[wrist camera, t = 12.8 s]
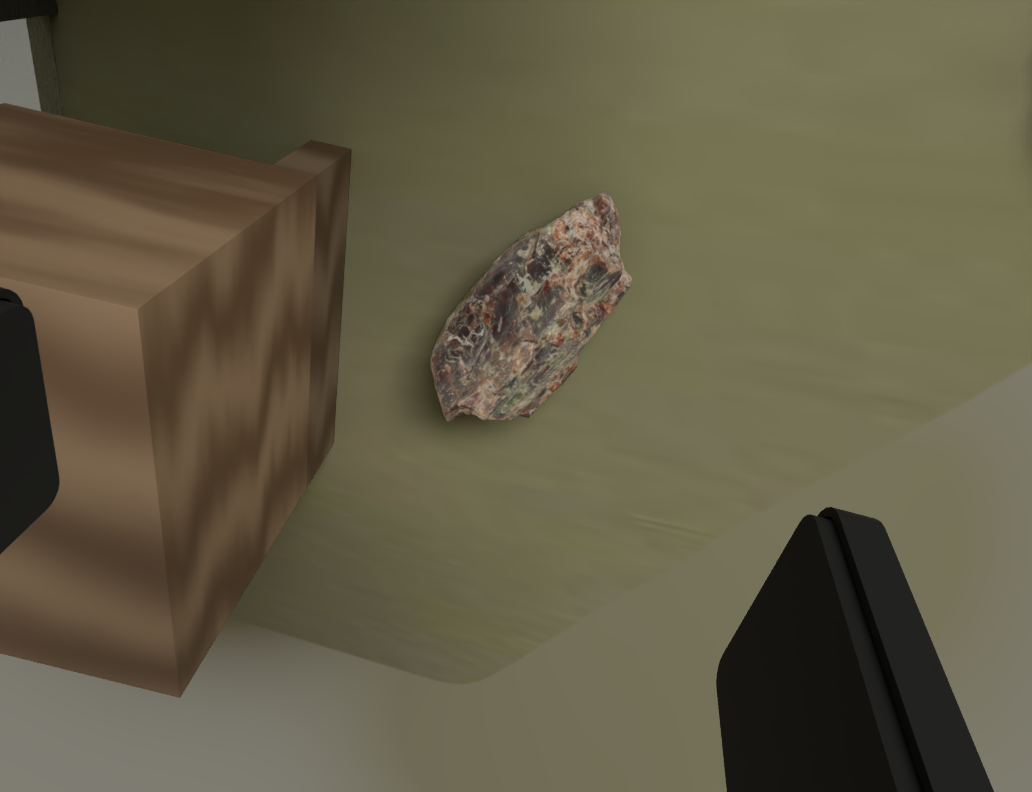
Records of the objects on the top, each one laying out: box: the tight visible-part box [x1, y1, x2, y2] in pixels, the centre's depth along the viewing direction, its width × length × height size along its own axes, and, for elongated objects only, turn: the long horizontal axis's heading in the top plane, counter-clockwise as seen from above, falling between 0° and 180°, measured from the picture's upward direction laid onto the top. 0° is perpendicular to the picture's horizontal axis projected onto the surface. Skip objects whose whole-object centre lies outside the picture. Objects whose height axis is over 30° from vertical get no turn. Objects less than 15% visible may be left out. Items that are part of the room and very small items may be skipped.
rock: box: [429, 191, 632, 421], centre depth 35 cm, size 7×11×10 cm
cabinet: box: [0, 103, 351, 698], centre depth 33 cm, size 18×14×18 cm
